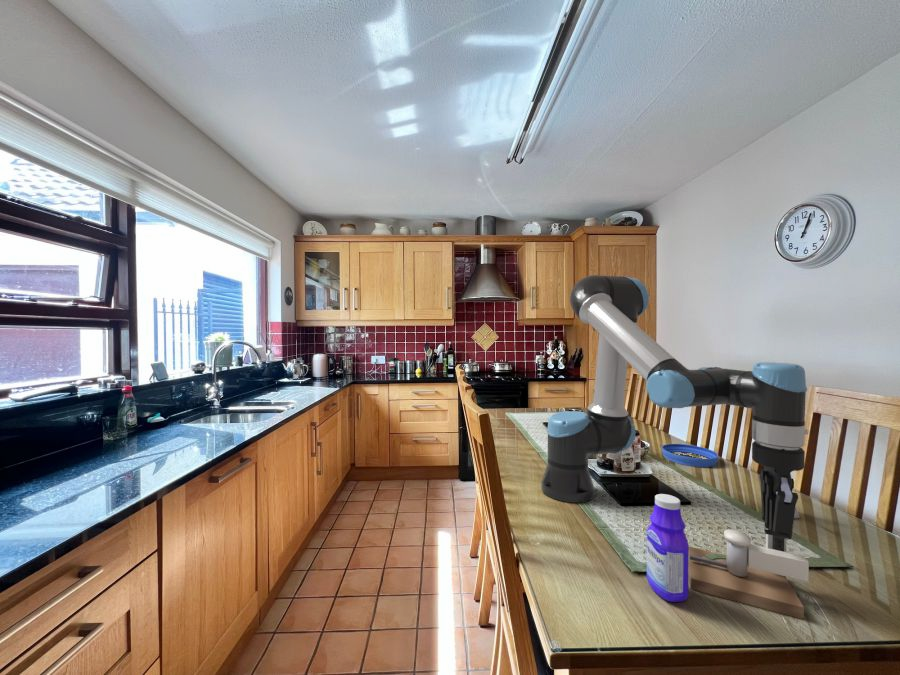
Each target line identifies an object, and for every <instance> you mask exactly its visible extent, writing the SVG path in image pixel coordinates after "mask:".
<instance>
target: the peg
mask: <svg viewBox="0 0 900 675" xmlns="http://www.w3.org/2000/svg"><path fill="white" fill-rule="evenodd" d="M723 537H724V539H725V541H726V554H725V555H726V563H723V562H719V561H715V560H711V559H706V558H702V557H698V556H694V555H690V557H689V558H690V560H695V561H699V562H703V563H707V564H711V565H715V566H720V567H724V568H726V569H727V570H728V571H729V572H730V573H732V574H734V575H737V576H741V577H745V576H747V565H748V567H749V568H753V569H757V570H761V571H765V572H770V573H774V574H778V575H783V576H786V578H787V577H788V578H791V579H792V578H793V579H797V580H799V581H800V580H801V581H804V582H809V575H810V574H809V571H810V570H809V567H810V566H809V565H810V564H809V560H808V559H807V558H806V557H805V555H802V554H796V553H792V552H787V551H786V552H783V551H779V550H774V549H769V548H766V547H764V546H758V545H755V544H751V540H752V538H751V536H750V535H748V534H746V533H745V532H742V531H740V530H735V529H725V530H724V532H723Z"/></svg>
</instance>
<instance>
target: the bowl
mask: <svg viewBox="0 0 900 675" xmlns="http://www.w3.org/2000/svg"><path fill="white" fill-rule="evenodd" d="M661 451H662V453H663V454H662V455H663V457H664V458H665V459H666V460H668V461H670V462H672V463H676V464H679V465H682V466H687V467H688V466H689V467H693V466H694V467H696V468H711V466H712V467H715V466H716V465H717V462H718V460H719V454H718V453H717V452H716V451H714V450H712V449H709V448H706V447H702V446H697V445H692V444H683V443H668V444H664V445H662V446H661ZM672 452H681V453H684V454H687V453H692V454H691V455H693V454H696V456H698V455H700V457H701V456H703V457H706V458H708V459H702V458H696V457H692V456H689V455H683V454H680V455H678V454H673V453H672ZM714 465H715V466H714Z"/></svg>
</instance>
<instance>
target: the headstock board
mask: <svg viewBox="0 0 900 675" xmlns="http://www.w3.org/2000/svg"><path fill="white" fill-rule="evenodd" d="M690 555H694V556H698V557H702V558H706V559H711V560H715V561H719V562H723V563H726V554H723V553H718V552H714V551H709V550H706V549H700V548H697V547H692V546H689V557H690ZM688 578H689V581H688V584H689V587H690V590H694V591H697V592H700V593H705V594H708V595H712V596H716V597H718V598H719V597H720V598H723V599H727V600H731V601H733V602H734V601H735V602H738V603H740V604H741V603H742V604H746V605H748V606H752V607H756V608H759V609H764V610H767V611H771V612H774V613H775V612H776V613H778V614H782V615H786V616H788V617H789V616H790V617H793V618H798V619H801V620H805V619H804V618H805V608H804V607H805V606H804V605H803V604H802V601H801V600H800V598H799V597H798V596H797V594H796V592H795V590H794V588H793V587H792V585H791V584H790V582H789V580H788V578H787V576H783V575H778V574H774V573H770V572H765V571H761V570H757V569H753V568H749V567H748V565H747V576H745V577H741V576H737V575H734V574H732V573H730V572H729V571H728V570H727V569H726V568H724V567H720V566H715V565H711V564H707V563H703V562H699V561H695V560H690V558H689V561H688Z"/></svg>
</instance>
